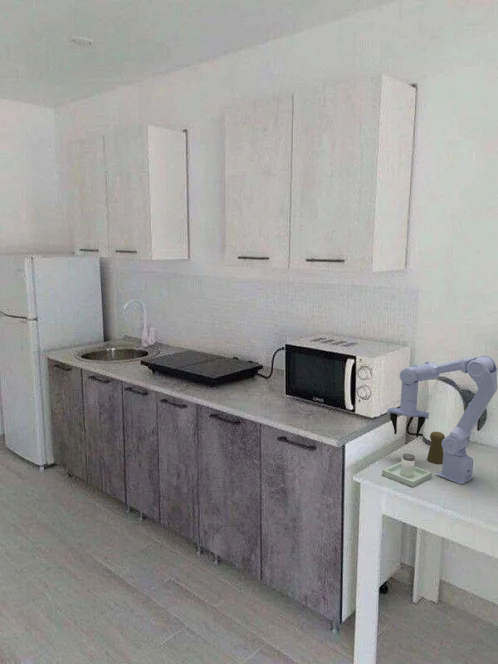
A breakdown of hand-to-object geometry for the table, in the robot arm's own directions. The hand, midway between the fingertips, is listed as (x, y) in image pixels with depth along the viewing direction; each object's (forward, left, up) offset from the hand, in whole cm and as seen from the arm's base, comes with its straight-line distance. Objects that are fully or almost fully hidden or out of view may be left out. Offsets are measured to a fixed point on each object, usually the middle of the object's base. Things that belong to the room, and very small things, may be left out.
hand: (406, 434), depth 192 cm
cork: (-7, -10, -11) cm, 16 cm away
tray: (-8, +11, -10) cm, 17 cm away
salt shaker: (-8, +11, -10) cm, 17 cm away
